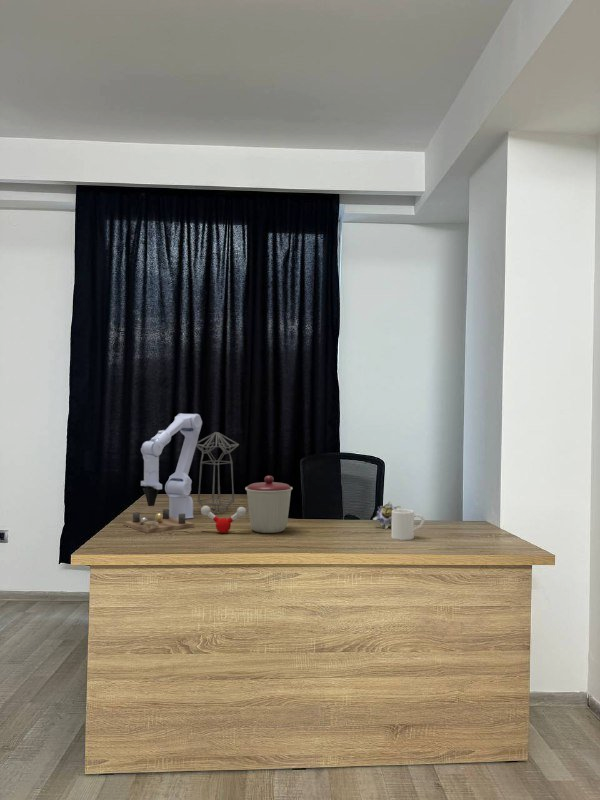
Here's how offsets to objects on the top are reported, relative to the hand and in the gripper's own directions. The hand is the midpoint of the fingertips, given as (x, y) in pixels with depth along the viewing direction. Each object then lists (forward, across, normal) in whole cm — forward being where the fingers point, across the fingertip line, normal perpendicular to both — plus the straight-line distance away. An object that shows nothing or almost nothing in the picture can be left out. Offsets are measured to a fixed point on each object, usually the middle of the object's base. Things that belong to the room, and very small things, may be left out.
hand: (151, 505), depth 291 cm
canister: (+8, +39, +29) cm, 49 cm away
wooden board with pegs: (+7, +6, 0) cm, 10 cm away
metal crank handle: (+6, +6, -3) cm, 9 cm away
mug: (+8, +80, +62) cm, 102 cm away
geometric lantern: (+7, -10, +36) cm, 38 cm away
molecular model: (+8, +32, +13) cm, 36 cm away
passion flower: (+7, +61, +72) cm, 95 cm away
